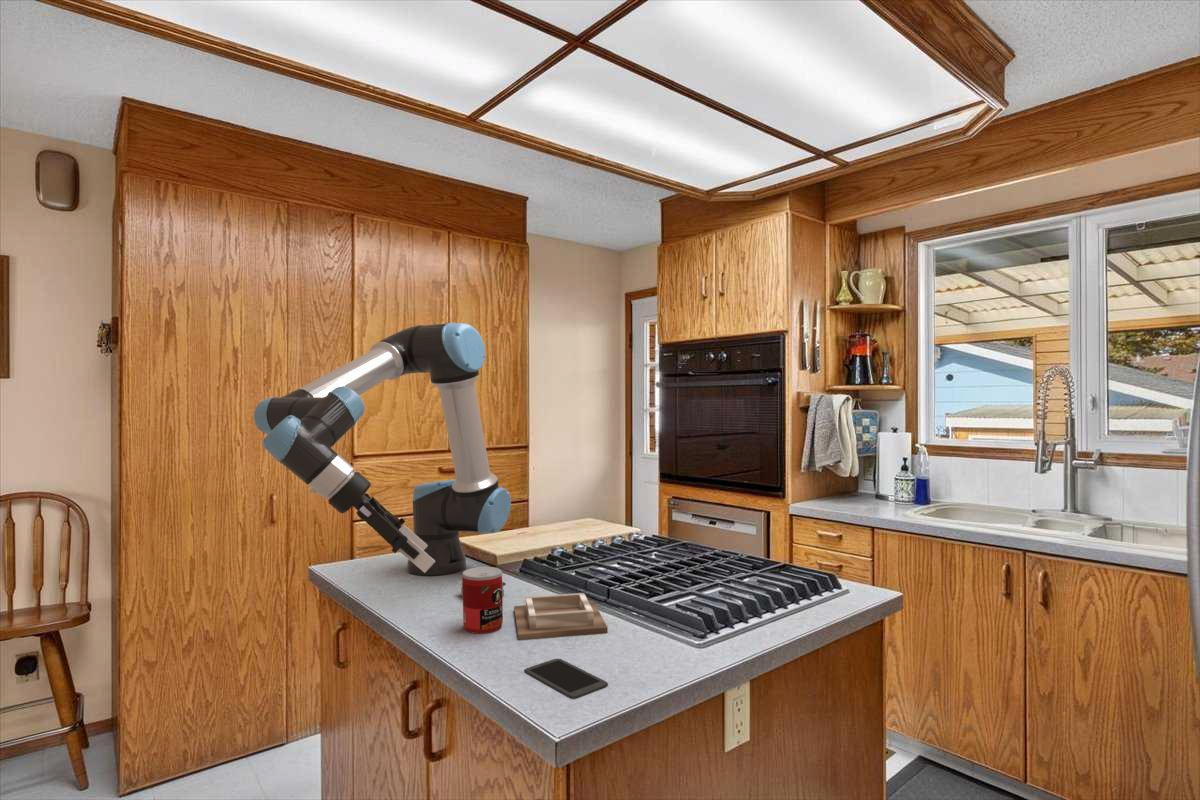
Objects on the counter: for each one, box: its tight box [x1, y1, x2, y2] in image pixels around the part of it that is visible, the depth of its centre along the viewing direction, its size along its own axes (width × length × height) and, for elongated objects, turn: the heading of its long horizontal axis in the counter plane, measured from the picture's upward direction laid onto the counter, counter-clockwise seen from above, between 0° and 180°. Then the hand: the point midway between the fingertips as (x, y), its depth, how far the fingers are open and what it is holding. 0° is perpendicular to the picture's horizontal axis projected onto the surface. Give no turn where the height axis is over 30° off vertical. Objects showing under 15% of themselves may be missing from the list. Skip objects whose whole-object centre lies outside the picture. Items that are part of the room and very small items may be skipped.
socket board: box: [513, 592, 609, 641], centre depth 135 cm, size 17×17×4 cm
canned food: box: [461, 566, 504, 634], centre depth 132 cm, size 8×8×11 cm
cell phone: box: [523, 658, 609, 700], centre depth 108 cm, size 7×14×1 cm, turn 40°
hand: (426, 558), depth 129 cm, fingers open, 13 cm apart
